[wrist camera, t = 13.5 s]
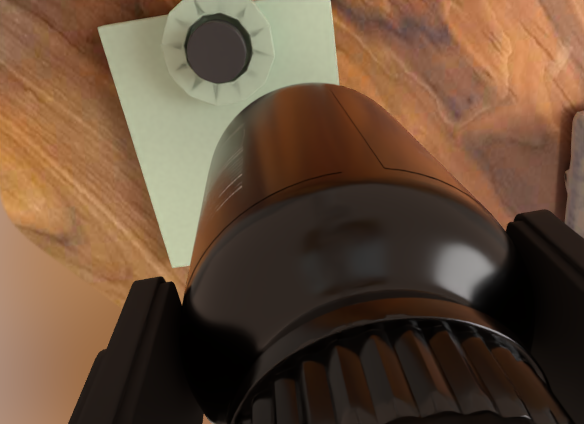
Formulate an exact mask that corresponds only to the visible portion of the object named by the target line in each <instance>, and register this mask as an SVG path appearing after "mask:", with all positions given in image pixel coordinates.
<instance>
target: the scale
mask: <svg viewBox="0 0 584 424" xmlns="http://www.w3.org/2000/svg"><path fill="white" fill-rule="evenodd" d="M214 19H221V20H225V21H228V22H230V23H232V24H233V25H235V26H236V27H237V28H238V29H239V30H240V32H241V33H242V35H243V36H244V39H245V42H246V47H247V53H246V61H245V64H244V67H243V69H242V70H241V72H240V73H239V74H238V75H237V76H236V77H235V78H234V79H232V80H230V81H228V82H224V83H212V82H209V81H206V80H204V79H202V78H201V77H199V76H198V75H197V74H196V73H195V72H194V70H193V69H192V67H191V66H190V64H189V61H188V57H187V44H188V41H189V38H190V36H191V34H192V33H193V32H194V31H195V30H196V29H197V28H198V27H199V26H200V25H201V24H203V23H204V22H206V21H209V20H214ZM98 32H99V35H100V38H101V42H102V45H103V48H104V51H105V54H106V58H107V61H108V64H109V67H110V71H111V74H112V77H113V80H114V83H115V87H116V90H117V93H118V96H119V99H120V103H121V106H122V109H123V112H124V115H125V119H126V122H127V125H128V128H129V131H130V135H131V138H132V141H133V144H134V147H135V151H136V154H137V157H138V160H139V164H140V167H141V170H142V173H143V176H144V180H145V183H146V186H147V189H148V192H149V196H150V199H151V202H152V205H153V208H154V212H155V215H156V218H157V221H158V224H159V228H160V231H161V234H162V237H163V240H164V244H165V247H166V250H167V253H168V257H169V260H170V263H171V266H172V268H176V267H182V266H189V265H190V262H191V257H192V252H193V247H194V242H195V237H196V232H197V227H198V222H199V217H200V212H201V207H202V202H203V197H204V192H205V187H206V182H207V177H208V172H209V168H210V164H211V161H212V157H213V154H214V151H215V149H216V146H217V144H218V142H219V140H220V138H221V136H222V134H223V132H224V131H225V130H226V128H227V127H228V125H229V124H230V123H231V121H232V120H233V119H234V118H235V117H236V116H237V115H238V114H239V113H240V112H241V111H242V110H243V109H244V108H245V107H247V106H248V105H249V104H250V103H252V102H253V101H255V100H256V99H258V98H259V97H261V96H263V95H265V94H267V93H269V92H271V91H274V90H276V89H279V88H282V87H285V86H289V85H294V84H299V83H310V82H319V83H330V84H336V85H339V75H338V66H337V56H336V46H335V37H334V27H333V18H332V8H331V0H182V1H181V2H180V3H179V4H178V5H177V6H175V7H174V8H173V9H172V10H171V11H170V12H169V14H167V15H161V16H155V17H149V18H143V19H137V20H131V21H125V22H119V23H113V24H108V25H103V26H100V27H98Z"/></svg>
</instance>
